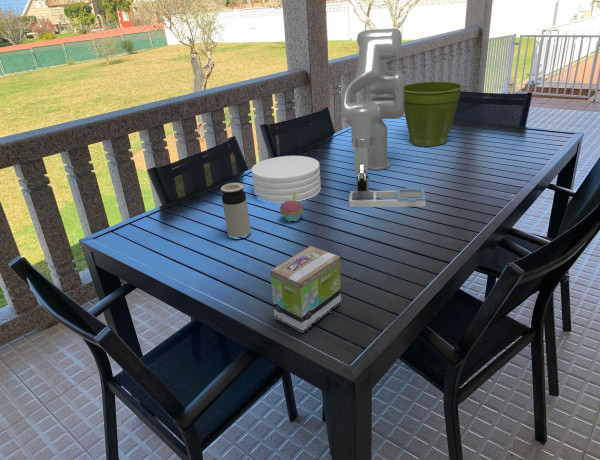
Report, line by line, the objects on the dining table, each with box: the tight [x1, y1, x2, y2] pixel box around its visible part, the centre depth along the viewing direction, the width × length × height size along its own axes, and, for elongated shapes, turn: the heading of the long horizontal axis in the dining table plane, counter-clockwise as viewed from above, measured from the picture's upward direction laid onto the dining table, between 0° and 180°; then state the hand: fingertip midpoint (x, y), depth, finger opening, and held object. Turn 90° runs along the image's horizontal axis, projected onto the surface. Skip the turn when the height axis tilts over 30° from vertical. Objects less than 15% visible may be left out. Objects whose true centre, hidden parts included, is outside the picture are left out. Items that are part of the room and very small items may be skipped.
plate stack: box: [251, 155, 322, 203], centre depth 185 cm, size 28×28×12 cm
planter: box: [356, 174, 370, 200], centre depth 169 cm, size 4×4×10 cm
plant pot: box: [404, 81, 463, 147], centre depth 229 cm, size 30×30×29 cm
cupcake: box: [279, 191, 305, 222], centre depth 159 cm, size 9×8×12 cm
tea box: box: [269, 245, 342, 330], centre depth 108 cm, size 15×10×15 cm, turn 138°
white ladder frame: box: [348, 186, 427, 208], centre depth 169 cm, size 13×28×3 cm, turn 81°
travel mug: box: [220, 182, 252, 237], centre depth 150 cm, size 8×8×18 cm
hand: (362, 186), depth 168 cm, fingers open, 9 cm apart
